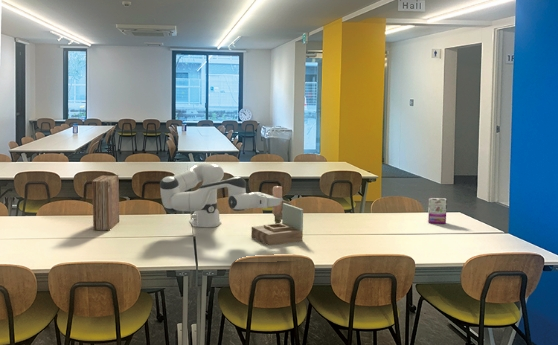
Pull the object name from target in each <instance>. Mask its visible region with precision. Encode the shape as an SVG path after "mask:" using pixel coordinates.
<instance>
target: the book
mask: <svg viewBox="0 0 558 345" xmlns="http://www.w3.org/2000/svg"><path fill="white" fill-rule="evenodd" d="M91 186H92V187H91V188H92V190H91V191H92V192H91V194H92V225H93V226H92V227H93V228H92V229H93V232H94V231H108V232H110V231H111V230H112V229H113V228H114V227H115V226H117V225H118V223H120V194H119V193H120V192H119V191H120V190H119V187H120V184H119V174H102V175H100V176H99V177H96V178H95V179H93V180H91ZM110 229H111V230H110Z"/></svg>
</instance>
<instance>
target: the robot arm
mask: <svg viewBox="0 0 558 345" xmlns="http://www.w3.org/2000/svg"><path fill="white" fill-rule="evenodd" d="M224 172H225V171H224V169H223V168H222V167H221V166H220V165H218V164H215V163H210V162H209V163H208V162H203V161H200V162H196V163H194V164H193V166H192V167H190V168H189V169H187V170H184V171H181V172H179V173H177V174H175V175H171V176H170V175H169V176H165V177H163V178H162V179H161V180H160V182H159V188H160V198H161V202H162V207H163V210H164V211H165V212H166V213H168V214H175V213H178V212H193V214H191V218H192V219H190V220H188V222H189V223H190V224H191V226H192V227H194V228H195V227H198V228H214V227H218V226H220V225H221V224H222V221H220V220H221V218H220V211H219V210H218V202H217V200H218V199H217V198H218V197H217V196H218V195H217V193H218V190H219V189H223V188H227V190H228V191H227V193H228V200H227V202H228V203H227V204H228V207H229V208H230V209H231V210H232V211H235V212H241V211H245V210H248V209H268V208H270V207H271V208H273V206H278V205H280V201H282V199H283V197H282V198H281V197H280V198H277V197H274V196H273V195H272V194H271V195H270V194H267V193H264V192H260V191H253V192H249V193H247V191H246V188H247V182H246V180H245V179H244V178H243V177H241V176H234V177H231V178H228V179H225V180H223V178H224V175H225V173H224ZM200 182H202V184H201V185H199V187H198V188H197V189H196V190H194V191H192V190H191V189H193V188H196V187H197V186H198V184H199V183H200ZM188 190H191V191H188Z"/></svg>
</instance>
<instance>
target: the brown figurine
mask: <svg viewBox="0 0 558 345" xmlns="http://www.w3.org/2000/svg"><path fill="white" fill-rule="evenodd" d="M271 196H273V187H272V188H271ZM283 203H286V204H289V205H291V206H292V203H291V202H290V201H287V200H284V198H282V209H283ZM271 213H272V214H273V216H274V220H273V221H274V224H277V223H282V212H273V210H272V212H271Z"/></svg>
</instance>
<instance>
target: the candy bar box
mask: <svg viewBox="0 0 558 345" xmlns="http://www.w3.org/2000/svg"><path fill="white" fill-rule="evenodd" d="M447 203H448V199H447V198H445V197H444V198H442V197H428V211H427V214H428V216H427V222H428V224H436V225H437V224H439V225H446V223H447V207H448V205H447Z"/></svg>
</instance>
